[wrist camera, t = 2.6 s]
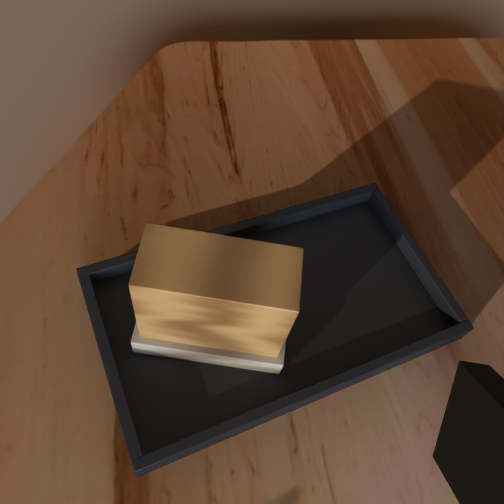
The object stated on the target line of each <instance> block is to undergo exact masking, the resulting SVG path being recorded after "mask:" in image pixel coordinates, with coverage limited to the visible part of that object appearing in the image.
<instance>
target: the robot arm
mask: <svg viewBox="0 0 504 504" xmlns="http://www.w3.org/2000/svg"><path fill="white" fill-rule="evenodd" d="M433 458H434V460H435V461H436V463H437V465H438V467H439V468H440V470H441V472H442V474H443V475H444V477H445V479H446V481H447V482H448V484H449V486H450V487H451V489H452V491H453V493H454V494H455V496H456V498H457V500H458V501H459V503H460V504H504V379H503V378H502V377H501V376H500V375H499V374H498V373H497V372H496V371H495V370H494V369H493V368H492V367H491V366H489V365H485V364H478V363H472V362H465V361H459V364H458V368H457V371H456V375H455V378H454V382H453V386H452V389H451V393H450V396H449V400H448V403H447V407H446V411H445V414H444V418H443V421H442V425H441V428H440V432H439V436H438V439H437V443H436V446H435V450H434V453H433Z"/></svg>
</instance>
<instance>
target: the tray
mask: <svg viewBox="0 0 504 504" xmlns="http://www.w3.org/2000/svg"><path fill="white" fill-rule="evenodd" d="M206 232H208V233H214V234H220V235H226V236H232V237H238V238H245V239H251V240H257V241H263V242H269V243H275V244H282V245H288V246H294V247H300V248H303V249H304V252H303V267H302V281H301V296H300V310H299V313H298V315H297V318H296V320H295V322H294V324H293V326H292V328H291V330H290V332H289V334H288V336H287V338H286V342H285V354H284V365H283V367H282V369H281V371H280V373H279V374H275V373H268V372H262V371H255V370H249V369H242V368H235V367H229V366H222V365H216V364H209V363H202V362H196V361H189V360H183V359H176V358H169V357H163V356H156V355H150V354H143V353H136V352H133V349H132V345H131V339H132V335H133V332H134V328H135V324H136V318H135V313H134V308H133V304H132V299H131V294H130V290H129V285H128V284H129V281H130V277H131V274H132V270H133V267H134V263H135V260H136V256H137V253H138V251H136V252H133V253H129V254H126V255H122V256H119V257H115V258H112V259H108V260H105V261H101V262H98V263H94V264H91V265H87V266H84V267H80V268H77V269H76V270H77V274H78V277H79V281H80V284H81V288H82V291H83V295H84V298H85V302H86V305H87V309H88V312H89V316H90V320H91V323H92V327H93V330H94V334H95V337H96V341H97V344H98V348H99V351H100V355H101V358H102V362H103V365H104V369H105V372H106V376H107V379H108V383H109V386H110V390H111V393H112V397H113V400H114V404H115V407H116V411H117V414H118V418H119V421H120V425H121V428H122V432H123V435H124V439H125V442H126V446H127V449H128V453H129V456H130V460H131V463H132V467H133V470H134V473H135V474H136V476H137V477H139V476H141V475H144V474H146V473H148V472H151V471H153V470H155V469H158V468H160V467H162V466H165V465H167V464H169V463H172V462H174V461H176V460H179V459H181V458H183V457H186V456H188V455H190V454H193V453H195V452H197V451H200V450H202V449H204V448H207V447H209V446H211V445H214V444H216V443H218V442H221V441H223V440H225V439H228V438H230V437H232V436H235V435H237V434H239V433H241V432H244V431H246V430H248V429H251V428H253V427H255V426H258V425H260V424H262V423H265V422H267V421H269V420H272V419H274V418H276V417H279V416H281V415H283V414H286V413H288V412H290V411H293V410H295V409H297V408H300V407H302V406H304V405H307V404H309V403H311V402H314V401H316V400H318V399H321V398H323V397H325V396H328V395H330V394H332V393H335V392H337V391H339V390H342V389H344V388H346V387H349V386H351V385H353V384H356V383H358V382H360V381H363V380H365V379H367V378H370V377H372V376H374V375H377V374H379V373H381V372H384V371H386V370H388V369H391V368H393V367H395V366H398V365H400V364H402V363H405V362H407V361H409V360H412V359H414V358H416V357H419V356H421V355H423V354H426V353H428V352H430V351H433V350H435V349H437V348H440V347H442V346H444V345H447V344H449V343H451V342H454V341H456V340H458V339H461V338H462V337H463V336H464V335H466V334H467V333H468V332H470V331H471V330H472V329H473V328H474V327H473V326H472V324H471V323H470V321H469V320H468V318H467V317H466V315H465V314H464V312H463V311H462V310H461V308H460V307H459V305H458V304H457V302H456V301H455V299H454V298H453V296H452V295H451V293H450V292H449V290H448V289H447V287H446V286H445V285H444V283H443V282H442V280H441V279H440V277H439V276H438V274H437V273H436V271H435V270H434V268H433V267H432V265H431V264H430V262H429V261H428V260H427V258H426V257H425V255H424V254H423V252H422V251H421V249H420V248H419V246H418V245H417V243H416V242H415V240H414V239H413V237H412V236H411V235H410V233H409V232H408V230H407V229H406V227H405V226H404V224H403V223H402V221H401V220H400V218H399V217H398V215H397V214H396V212H395V211H394V209H393V208H392V207H391V205H390V204H389V202H388V201H387V199H386V198H385V196H384V195H383V193H382V192H381V190H379V187H378V186H377V184H376V183H373V184H369V185H366V186H362V187H359V188H355V189H352V190H349V191H345V192H342V193H338V194H335V195H331V196H328V197H324V198H321V199H317V200H314V201H310V202H307V203H303V204H300V205H296V206H293V207H289V208H286V209H282V210H279V211H275V212H272V213H268V214H265V215H261V216H258V217H254V218H251V219H248V220H244V221H241V222H237V223H234V224H230V225H227V226H223V227H220V228H216V229H213V230H209V231H206Z"/></svg>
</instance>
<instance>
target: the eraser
mask: <svg viewBox="0 0 504 504" xmlns="http://www.w3.org/2000/svg"><path fill="white" fill-rule="evenodd" d="M303 252H304V249H303V248H300V247H294V246H288V245H282V244H275V243H269V242H263V241H257V240H251V239H245V238H238V237H232V236H226V235H220V234H214V233H208V232H201V231H195V230H189V229H183V228H177V227H170V226H164V225H158V224H152V223H146V225H145V228H144V232H143V235H142V239H141V242H140V246H139V249H138V253H137V256H136V260H135V263H134V267H133V270H132V274H131V277H130V281H129V284H128V285H129V290H130V294H131V299H132V304H133V308H134V313H135V318H136V324H135V328H134V332H133V335H132V339H131V345H132V349H133V352H136V353H143V354H150V355H156V356H163V357H169V358H176V359H183V360H189V361H196V362H202V363H209V364H216V365H222V366H229V367H235V368H242V369H249V370H255V371H262V372H268V373H275V374H279V373H280V371H281V369H282V367H283V365H284V354H285V342H286V338H287V336H288V334H289V332H290V330H291V328H292V326H293V324H294V322H295V320H296V318H297V315H298V313H299V310H300V296H301V281H302V267H303Z"/></svg>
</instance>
